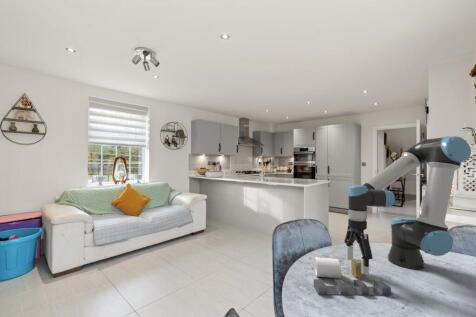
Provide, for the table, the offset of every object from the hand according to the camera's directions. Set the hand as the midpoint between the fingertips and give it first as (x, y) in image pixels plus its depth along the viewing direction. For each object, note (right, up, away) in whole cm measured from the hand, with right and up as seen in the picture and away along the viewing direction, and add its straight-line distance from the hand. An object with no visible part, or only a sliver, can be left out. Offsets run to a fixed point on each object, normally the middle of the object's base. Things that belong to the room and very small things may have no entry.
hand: (356, 266), depth 103 cm
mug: (-13, -5, +2) cm, 14 cm away
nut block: (0, -5, 0) cm, 5 cm away
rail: (-9, -4, -12) cm, 15 cm away
